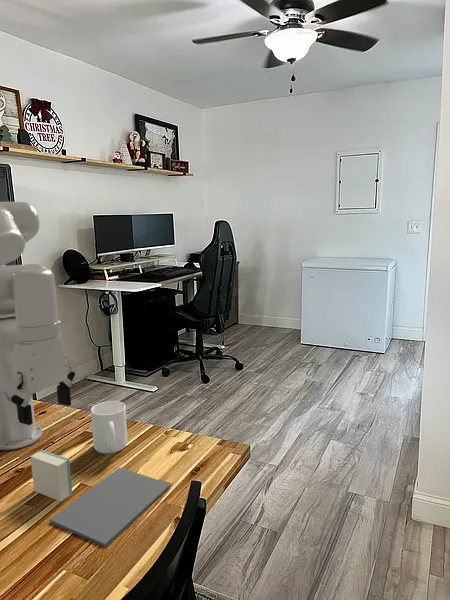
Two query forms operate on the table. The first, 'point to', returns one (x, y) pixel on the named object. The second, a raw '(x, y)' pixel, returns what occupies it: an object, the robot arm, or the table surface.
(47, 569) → the table surface
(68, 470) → the cream and teal block
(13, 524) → the table surface
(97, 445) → the mug
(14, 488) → the table surface
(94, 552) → the table surface
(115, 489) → the mat
